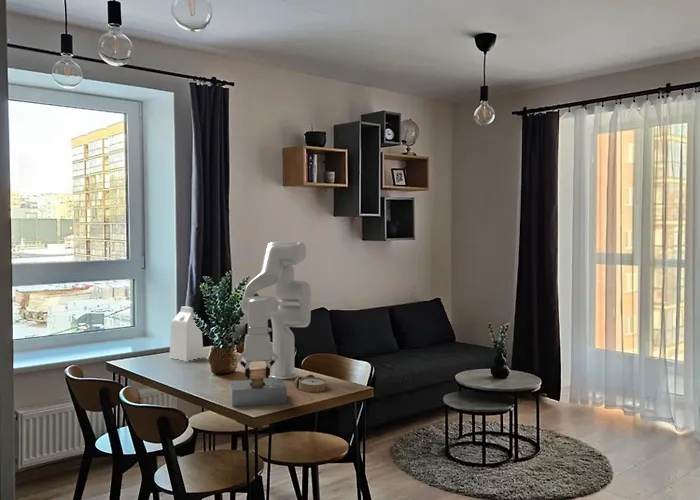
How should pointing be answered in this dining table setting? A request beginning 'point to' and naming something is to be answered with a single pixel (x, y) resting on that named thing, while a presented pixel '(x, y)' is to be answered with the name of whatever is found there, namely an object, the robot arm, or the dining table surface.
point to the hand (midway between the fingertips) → (257, 377)
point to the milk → (185, 336)
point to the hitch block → (258, 392)
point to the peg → (257, 376)
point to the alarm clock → (310, 383)
